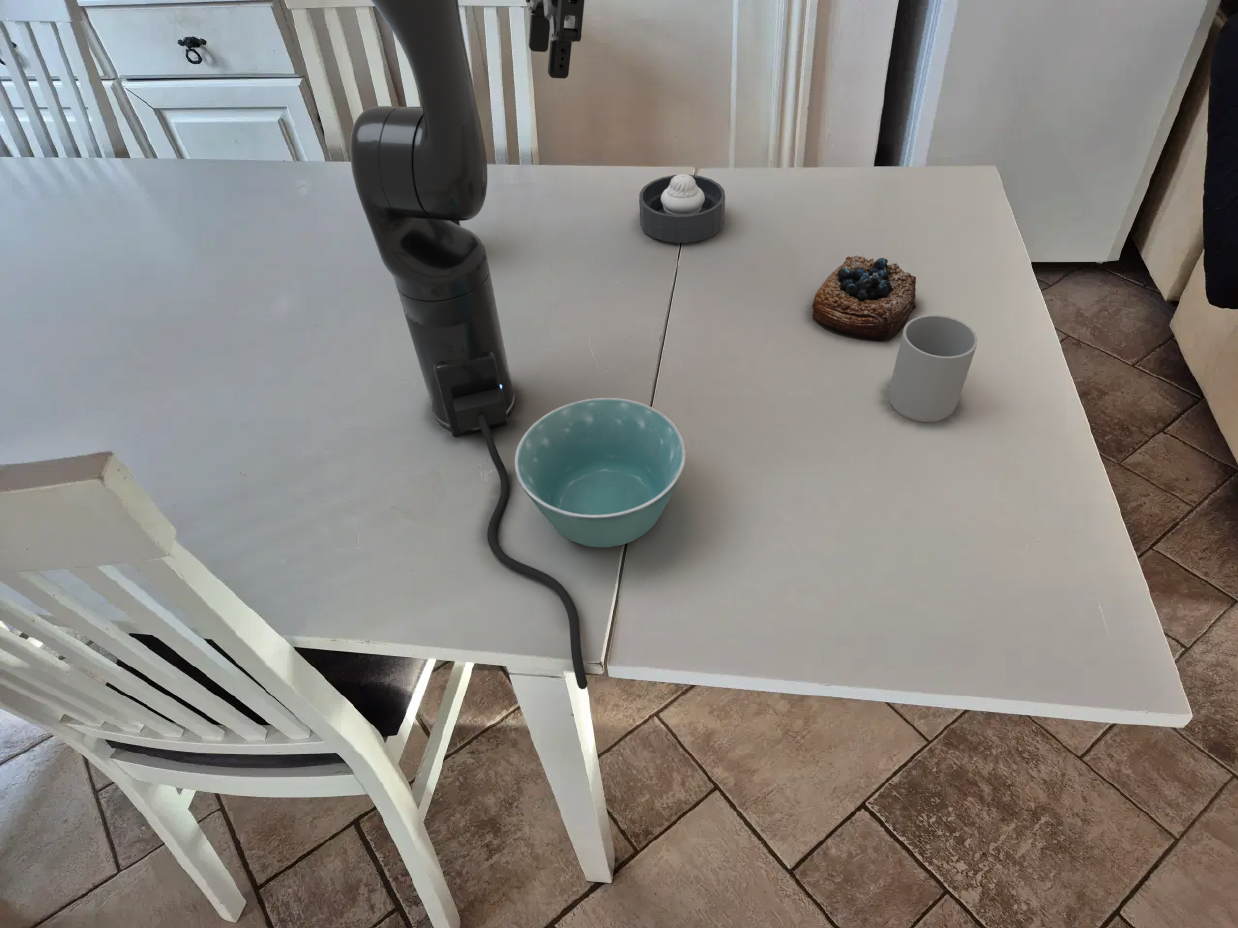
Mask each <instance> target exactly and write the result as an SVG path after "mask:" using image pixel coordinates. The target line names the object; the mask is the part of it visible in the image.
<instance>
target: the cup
mask: <svg viewBox="0 0 1238 928" xmlns="http://www.w3.org/2000/svg"><path fill="white" fill-rule="evenodd" d="M978 339H979V338H978V337H977V333H976V332H975V330H973V328H972V327H971V326H970V325H968V324H967V323H965V322H963V321H961V320H959V319H957V318H955V317H951V316H949V315H948V316H947V315H942V314H926V315H925V314H924V315H920V316H916V317H914V318H912V319H910V320H909V321H907V322H906V324H905V326H904V327H903V329H902V335H901V338H900V342H899V347H898V350H897V351H898V352H897V355H896V360H895V362H894V367H893V371H892V375H891V379H890V384H889V388H888V393H887V397H888V401H889V403H890V404H891V407H892V408H893V409H894V410H895V411H896V412H897V413H898V414H899V415H901V416H903V417H904V418H906V419H909V420H911V421H915V422H921V423H933V422H939V421H941V420H944V419H946V418H948V417H949V416H950V415H952V414H953V413H954V411H955V410H956V408H957V405H958V403H959V400H960V397H961V394H962V392H963V388H964V385H965V382H966V379H967V377H968V373H969V371H970V368H971V364H972V362H973V358H974V355H975V352H976V349H977V347H978V341H979V340H978Z"/></svg>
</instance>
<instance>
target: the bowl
mask: <svg viewBox="0 0 1238 928" xmlns="http://www.w3.org/2000/svg"><path fill="white" fill-rule="evenodd" d="M686 452H687V450H686V444H685V441H684V438H683V436H682V434H681V431H680V430H679V429H678V427H677V426H676V424H675V423H674V422H673V421H672V420H671V419H670V418H669V417H668V416H666V415H665V414H664V413H663V412H661V411H659V410H658V409H656V408H654V407H652V406H650V405H647V404H645V403H642V402H639V401H635V400H631V399H627V398H617V397H596V398H595V397H594V398H587V399H582V400H581V399H580V400H578V401H574V402H570V403H567V404H565V405H562V406H560V407H557V408H555V409H553V410H551V411H550V412H548V413H546V414H544V415H543V416H542V417H541V418H539V419H538V420H537V421H535V422H534V423H533V424H532V425H531V426H530V427H529V428H528V429H527V430H526V432H525V433H524V435H523V436H522V438H521V439H520V441H519V443H518V445H517V447H516V450H515V455H514V456H515V457H514V471H515V475H516V478H517V481H518V482H519V485H520V486H521V487H522V490H523V491H524V492H525V494H526V495H527V496H528V497H529V498H530V500H531V501H532V502H533V504H534V505H535V506H536V507H537V508H538V510H539V511H540V512H541V513H542V515H543V516H544V517H545V518H546V519H547V520H548V522H549V523H550V524H551V525H552V526H553V527H554V528H555V529H556V531H557V532H559V533H560V534H561V535H562V536H563V537H565V538H566V539H567V540H570V541H571V542H574V543H576V544H578V545H582V546H585V547H590V548H613V547H618V546H622V545H626V544H628V543H629V544H630V543H631V542H633V541H636V540H637V539H640V538H641V537H642V536H644V535H645V534H647V532H649V531H650V530H651V529H652V528H653V527H654V526H655V524H657V522H658V521H659V519H660V517H661V515H662V513H663V511H664V510H665V508H666V506H667V504H668V502H669V501H670V499H671V497H672V495H673V493H674V491H675V489H676V486H678V483H679V480H680V478H681V476H682V474H683V471H684V470H685V469H684V468H685V465H686V459H687V453H686Z"/></svg>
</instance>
